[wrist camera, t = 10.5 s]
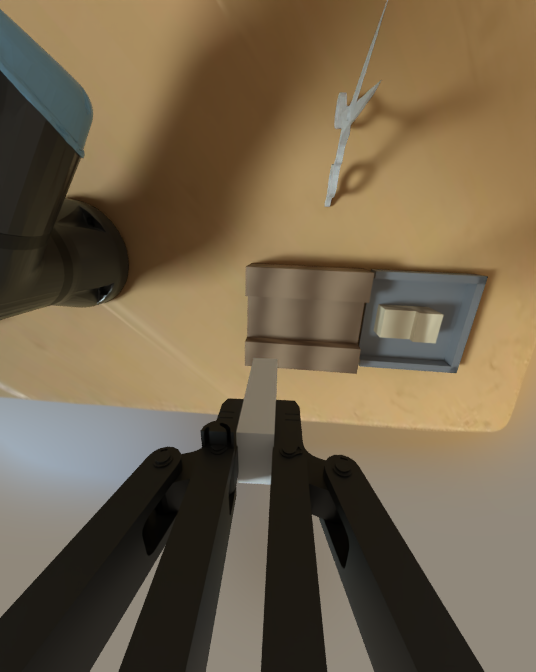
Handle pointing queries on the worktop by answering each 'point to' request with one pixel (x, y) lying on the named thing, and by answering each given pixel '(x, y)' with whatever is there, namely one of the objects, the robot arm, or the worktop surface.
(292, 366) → the slot board
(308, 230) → the worktop surface
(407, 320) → the cream square block
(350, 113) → the scissors
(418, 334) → the chip
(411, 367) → the tray
